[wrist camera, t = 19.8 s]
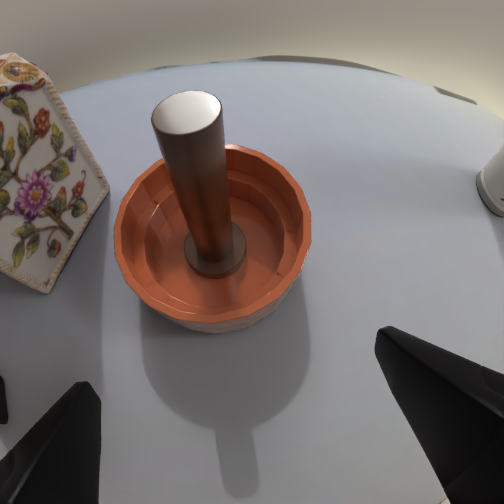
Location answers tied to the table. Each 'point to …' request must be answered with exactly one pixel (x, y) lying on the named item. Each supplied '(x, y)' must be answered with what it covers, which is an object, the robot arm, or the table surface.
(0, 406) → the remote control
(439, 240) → the table surface
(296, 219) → the orange round container
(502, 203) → the travel mug
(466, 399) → the robot arm
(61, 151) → the decorative jar
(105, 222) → the table surface
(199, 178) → the brown flanged peg
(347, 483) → the table surface
